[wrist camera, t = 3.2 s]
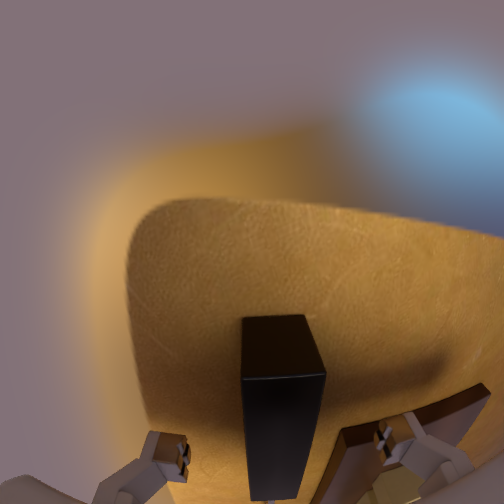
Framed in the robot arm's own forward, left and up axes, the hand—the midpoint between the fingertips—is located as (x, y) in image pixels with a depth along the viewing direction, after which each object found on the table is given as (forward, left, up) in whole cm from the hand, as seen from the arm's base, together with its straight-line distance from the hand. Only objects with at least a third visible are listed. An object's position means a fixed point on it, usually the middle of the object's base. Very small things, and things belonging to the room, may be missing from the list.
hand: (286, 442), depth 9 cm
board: (+10, -13, -3) cm, 17 cm away
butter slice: (+10, -10, -1) cm, 14 cm away
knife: (0, -6, -3) cm, 7 cm away
